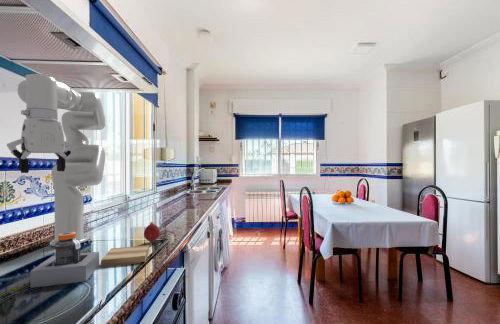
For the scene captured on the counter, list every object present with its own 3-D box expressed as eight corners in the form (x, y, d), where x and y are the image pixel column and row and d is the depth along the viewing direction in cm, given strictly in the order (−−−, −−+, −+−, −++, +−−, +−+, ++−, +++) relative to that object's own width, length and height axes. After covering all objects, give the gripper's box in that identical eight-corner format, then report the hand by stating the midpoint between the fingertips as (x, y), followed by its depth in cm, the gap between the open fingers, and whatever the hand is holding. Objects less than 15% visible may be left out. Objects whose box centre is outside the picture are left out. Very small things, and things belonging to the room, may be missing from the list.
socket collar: (52, 270, 77) (52, 255, 77) (99, 265, 80) (99, 251, 80) (30, 287, 65) (30, 271, 65) (86, 281, 68) (85, 265, 68)
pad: (111, 254, 90) (110, 248, 90) (149, 250, 93) (149, 245, 93) (101, 267, 78) (101, 260, 78) (145, 262, 81) (145, 255, 81)
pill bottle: (85, 271, 75) (85, 230, 75) (66, 280, 69) (66, 236, 69) (68, 270, 76) (68, 230, 77) (48, 278, 71) (48, 235, 71)
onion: (162, 242, 103) (162, 221, 103) (147, 245, 100) (147, 224, 100) (156, 239, 108) (156, 219, 108) (141, 242, 104) (141, 221, 104)
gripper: (13, 111, 73) (14, 173, 74) (78, 118, 89) (79, 170, 89) (0, 113, 77) (2, 173, 77) (65, 120, 92) (66, 170, 92)
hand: (43, 171), depth 83 cm, fingers open, 9 cm apart
